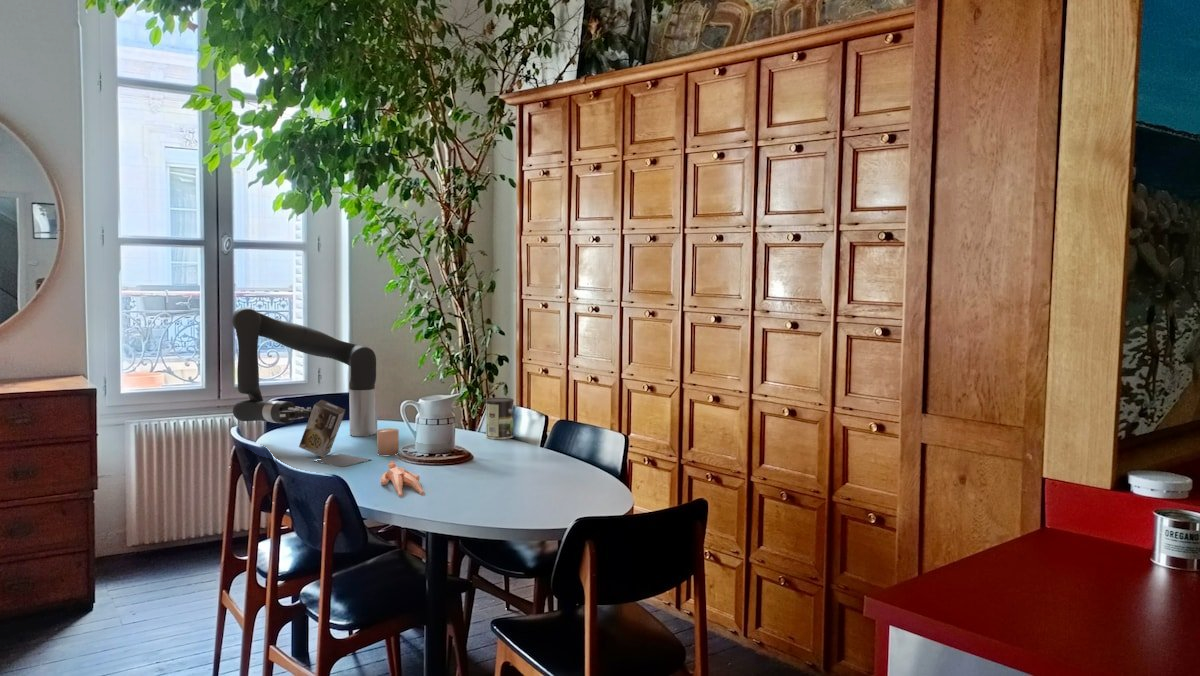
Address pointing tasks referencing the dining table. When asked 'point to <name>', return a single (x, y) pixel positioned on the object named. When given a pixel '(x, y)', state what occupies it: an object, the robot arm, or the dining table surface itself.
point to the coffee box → (322, 428)
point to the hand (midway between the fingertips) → (313, 414)
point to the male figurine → (401, 479)
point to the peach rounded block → (387, 441)
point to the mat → (342, 460)
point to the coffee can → (499, 418)
